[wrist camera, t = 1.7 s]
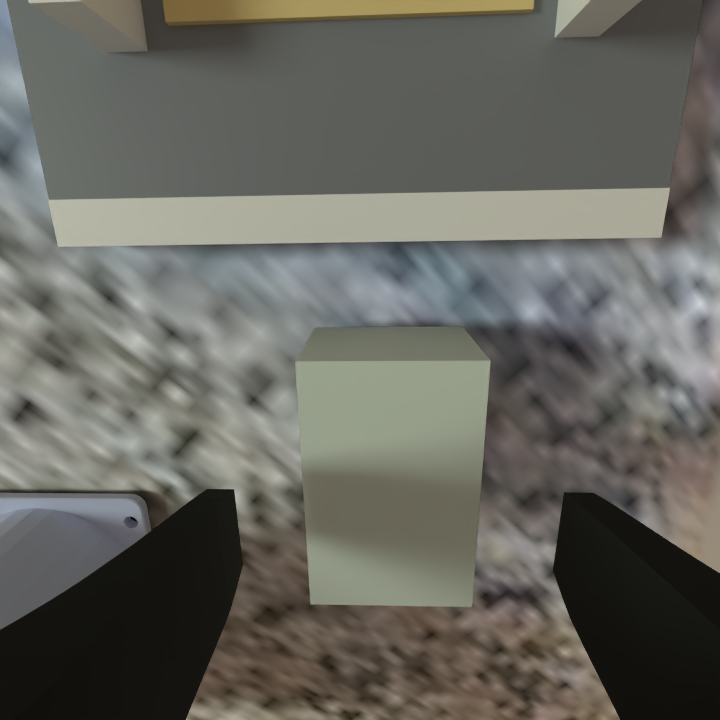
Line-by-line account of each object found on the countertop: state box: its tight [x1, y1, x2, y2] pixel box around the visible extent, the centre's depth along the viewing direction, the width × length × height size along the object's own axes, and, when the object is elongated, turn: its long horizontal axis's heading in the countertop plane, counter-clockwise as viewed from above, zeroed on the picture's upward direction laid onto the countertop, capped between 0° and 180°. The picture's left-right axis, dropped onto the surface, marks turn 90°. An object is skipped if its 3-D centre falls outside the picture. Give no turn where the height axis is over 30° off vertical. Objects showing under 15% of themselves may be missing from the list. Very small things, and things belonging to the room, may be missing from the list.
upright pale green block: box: [295, 326, 491, 607], centre depth 13 cm, size 7×4×5 cm, turn 1°
